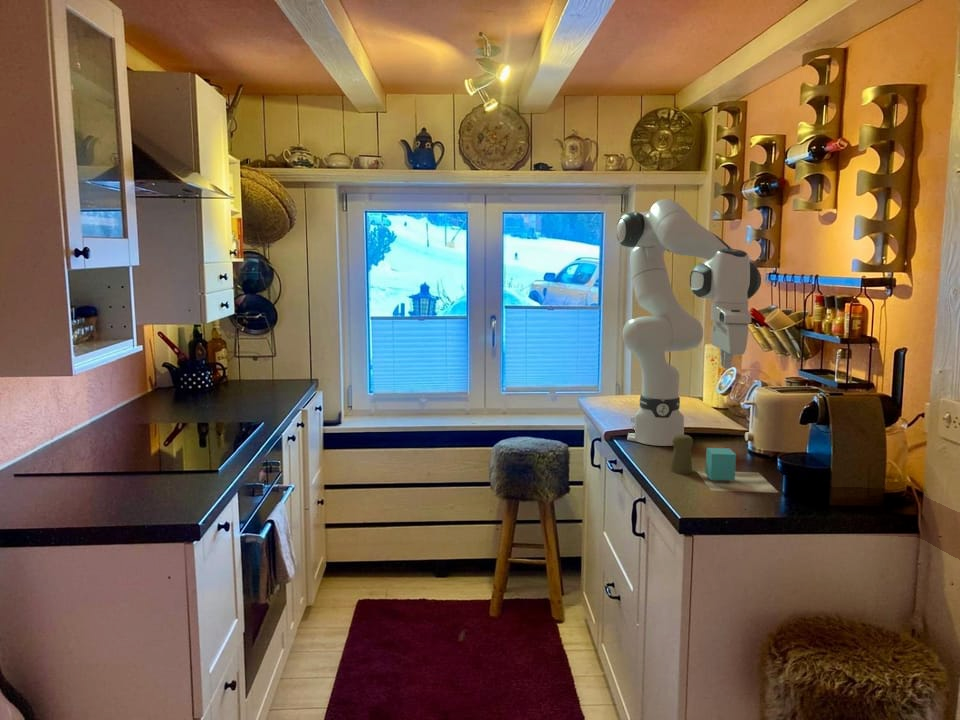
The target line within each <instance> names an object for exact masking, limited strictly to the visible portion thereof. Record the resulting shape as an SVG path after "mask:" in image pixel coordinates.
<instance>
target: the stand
mask: <svg viewBox="0 0 960 720" xmlns="http://www.w3.org/2000/svg"><path fill="white" fill-rule="evenodd" d="M696 473H698V475H699V476H700V478H701V479H702V481H703V482H704V484H705V485H706V486H707V487H708V488H709V490H710V491H713V492H714V491H718V492H742V493H743V492H745V493H747V492H748V493H750V492H751V493H774V494H777V493H778V494H779V491H778V490H777V489H776V488H775V487H774V486H773V485H772V484H771V483H770V482H769V481H768V480H767V479H766V478H765V477H764V476H763V475H762V474H761V473H760V472H755V471H754V472H750V471H749V472H748V471H735V481H731V480H710V478H709V477H708V476H707V474H706V473H705V470H696Z"/></svg>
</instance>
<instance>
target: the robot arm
mask: <svg viewBox="0 0 960 720" xmlns="http://www.w3.org/2000/svg"><path fill="white" fill-rule="evenodd" d="M616 238H617V240H618V242H619V243H620V245H621V246H623V247H626V248H633V249H632V250H631V252H630V255H629V267H630V276H631V282H632V285H633V291H634V295H635V300H636V302H637V304H638V305H639V307H641V308H642V309H643V310H645V311H647V312H649V313H650V314H651V315H652V316H651V315H650V316H649V315H648V316H645V315H644V316H639V317H635V318H631V319H628V320H627V321H626V323H625V324H624V326H623V328H622V333H621V334H622V341H623V343H624V345H625V347H626V348H627V349H628V350H629V351H630V352H632V354H634V356H635V357H636V359H637V360H638V363H639V366H640V369H641V370H640V371H641V394H640V396H639V397H640V398H639V406H640V407H639V409H638V410H637V412H636V413H635V415H632V416H631V420H630V424H633V425H632V426H631V427H632V429H634V430H635V433H629V432H628V434H627V441H632V442H637V443H640V444H643V445H650V446H659V447H663V446H664V447H667V446H668V447H669V446H670V447H671V446H673V443H672V440H673V437H674V436H675V435H680V434H683V435H685V428H684V427H685V424H684V423H685V416H684V414H683V413H682V412H681V411H680V405H681V401H680V399H681V398H680V396H679V392H680V391H679V390H680V389H679V388H680V372H679V371H678V369H677V368H676V367H675V366H673V365H672V364H670V363H668V362H667V360H666V356H665V355H666V354H665V352H666V353H667V352H669V353H670V352H685V351H689V350H692V349H696V348H698V347H699V346H700V344H701V343H702V341H703V337H704V329H703V325H702V324H701V322H700V321H699V319H697V318H696V317H694V316H693V315H691V314H690V313H689V312H687V311H686V310H685V309H684V308H683V306H682V305H681V304H680V302H679V301H678V300H677V298H676V296H675V294H674V291H673V288H672V285H671V281H670V277H669V273H668V270H667V266H666V263H665V260H664V259H665V258H664V256H665V251H667V252H669V253H672V254H675V255H679V256H687V257H695V258H701V259H704V260H706V261H704V262H699V263H698V264H697V265H695V266H694V267H693V269H692V270H691V272H690V275H689V287H690V289H691V291H692V293H693V294H694V295H695V296H696V297H697V298H701V299H702V298H703V299H712V300H711V304H710V305H711V307H710V308H711V310H710V320H711V321H712V326H711V327H712V328H711V338H710V340H711V341H710V342H711V345H712V346H714V347H716V348H718V349H719V353H720V354H719V355H720V359H721V360H720V361H721V362H720V366H721V367H723V368H724V369H731V368H732V361H733V359H734V355H745V353H746V350H747V344H748V337H749V324H750V325H751V323H752V315H751V313H750V311H749V300H750V298H752V297H753V296H754V295H756V294H757V292H758V291H759V290H760V287H761V285H762V275H761V272H760V270H759V268H758V267H757V265H755V264H754V262H752V261H750V258H749V257H750V256H749V254H748V253H747V252H746V251H744V250H741V249H734V248H732V247H731V246H729V245H728V243H726V242H725V241H724V240H723V239H722V238H721V237H720V236H718V235H716V234H715V233H713V232H712V231H710V230H708V229H707V228H705V226H702V225H701V224H700V223H699V222H697V220H695V219H694V218H693V217H692V215H690V214H689V212H688V211H687V210H686V208H684V207H683V206H682V205H681V204H679V203H678V202H676V201H675V200H674V199H671V198H663V199H660V200H657V201H656V202H655V203H654V204H652V206H651V208H650V209H649V211H640V212H635V211H633V212H628V213H625V214H623V215H621V217H620V218H619V219H618V220H617V224H616Z"/></svg>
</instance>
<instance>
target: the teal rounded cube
mask: <svg viewBox="0 0 960 720" xmlns="http://www.w3.org/2000/svg"><path fill="white" fill-rule="evenodd" d="M736 463H737V454H736V453H735V452H734V451H733V450H732V449H731V448H728V447H726V448H725V447H706V454H705V470H704V471H705V473H706V474H707V476H708V477H709V478H710V480H731V481H735V472H736V467H737V466H736V465H737V464H736Z"/></svg>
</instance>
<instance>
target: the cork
mask: <svg viewBox="0 0 960 720" xmlns="http://www.w3.org/2000/svg"><path fill="white" fill-rule="evenodd" d="M672 443H673V445H672V446H673V452H672V458H671V463H670V468H669V470H670V471H671V473H675V474H683V475H687V474H691V473H693V465H692V464H693V463H692V451H691V448H692V447H693V444H694V440H693V438H692V436H690V435H688V434H684V435H683V434H680V435H675V436H674V437H673V440H672Z"/></svg>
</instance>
